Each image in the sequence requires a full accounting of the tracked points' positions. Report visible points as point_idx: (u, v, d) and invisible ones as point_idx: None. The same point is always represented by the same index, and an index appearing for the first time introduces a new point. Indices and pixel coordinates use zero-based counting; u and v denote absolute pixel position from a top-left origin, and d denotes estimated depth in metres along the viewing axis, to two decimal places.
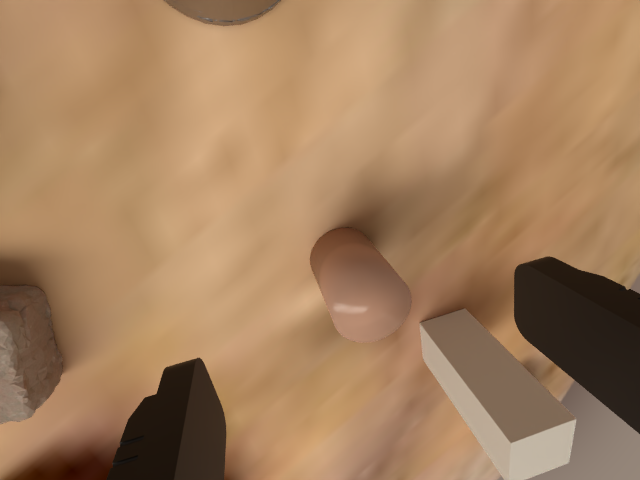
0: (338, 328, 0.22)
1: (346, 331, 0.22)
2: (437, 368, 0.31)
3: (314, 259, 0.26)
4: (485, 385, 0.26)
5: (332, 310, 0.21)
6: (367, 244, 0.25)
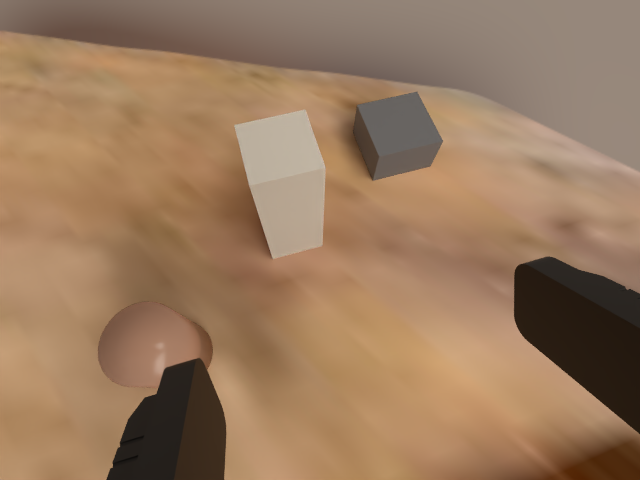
0: (155, 378, 0.21)
1: (161, 368, 0.21)
2: (302, 237, 0.29)
3: None
4: None
5: (133, 386, 0.21)
6: None
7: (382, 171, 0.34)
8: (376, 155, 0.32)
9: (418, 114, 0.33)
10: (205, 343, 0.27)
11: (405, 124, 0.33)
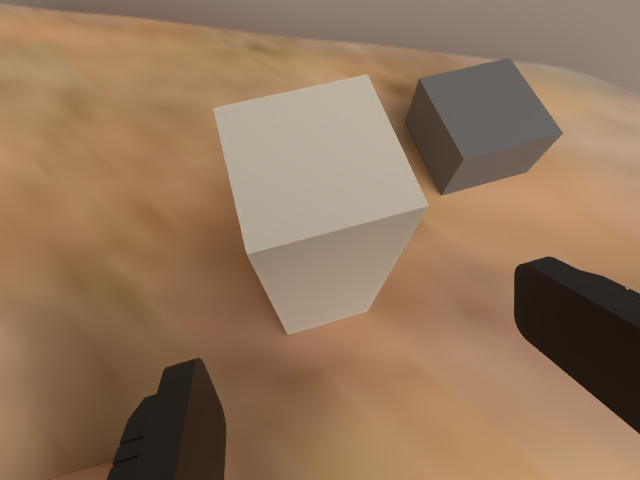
0: None
1: None
2: (341, 308, 0.17)
3: None
4: None
5: None
6: None
7: (459, 182, 0.22)
8: (457, 157, 0.20)
9: (518, 92, 0.21)
10: None
11: (499, 108, 0.21)
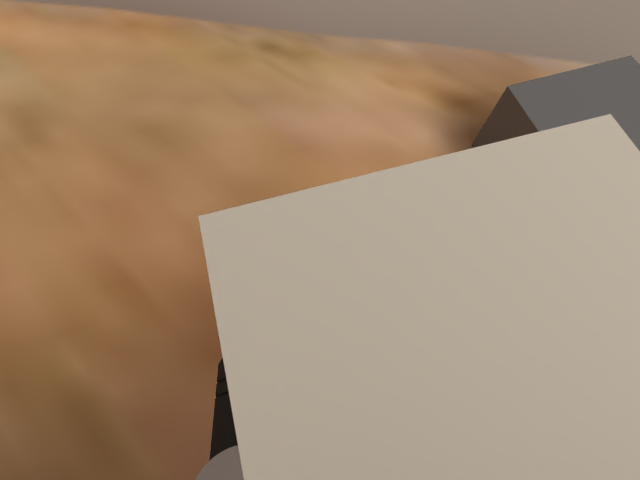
0: None
1: None
2: None
3: None
4: None
5: None
6: None
7: None
8: None
9: None
10: None
11: (630, 128, 0.14)
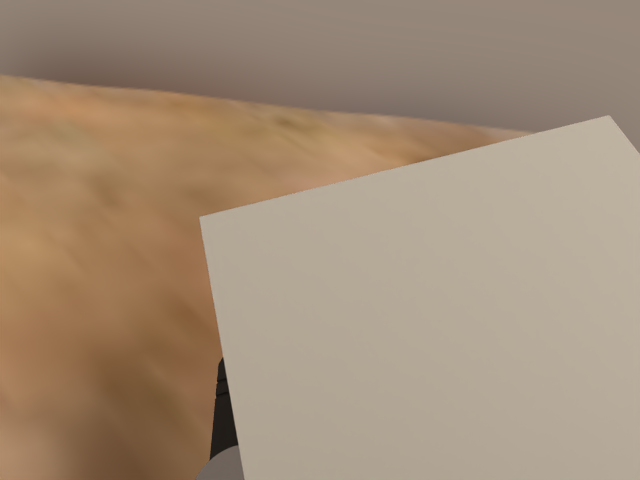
0: None
1: None
2: None
3: None
4: None
5: None
6: None
7: None
8: None
9: None
10: None
11: None
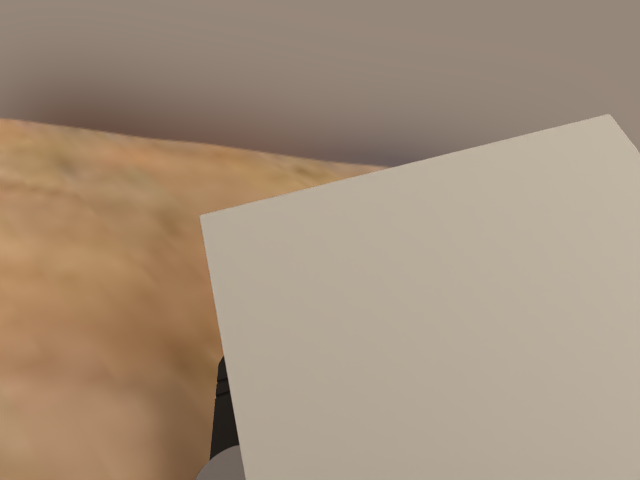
0: None
1: None
2: None
3: None
4: None
5: None
6: None
7: None
8: None
9: None
10: None
11: None
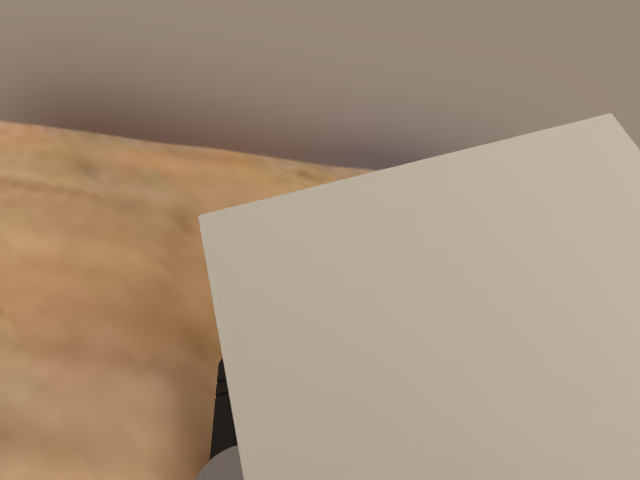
0: None
1: None
2: None
3: None
4: None
5: None
6: None
7: None
8: None
9: None
10: None
11: None
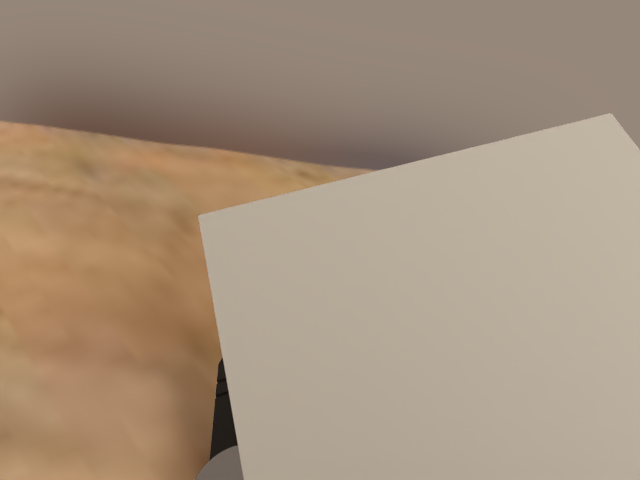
0: None
1: None
2: None
3: None
4: None
5: None
6: None
7: None
8: None
9: None
10: None
11: None
